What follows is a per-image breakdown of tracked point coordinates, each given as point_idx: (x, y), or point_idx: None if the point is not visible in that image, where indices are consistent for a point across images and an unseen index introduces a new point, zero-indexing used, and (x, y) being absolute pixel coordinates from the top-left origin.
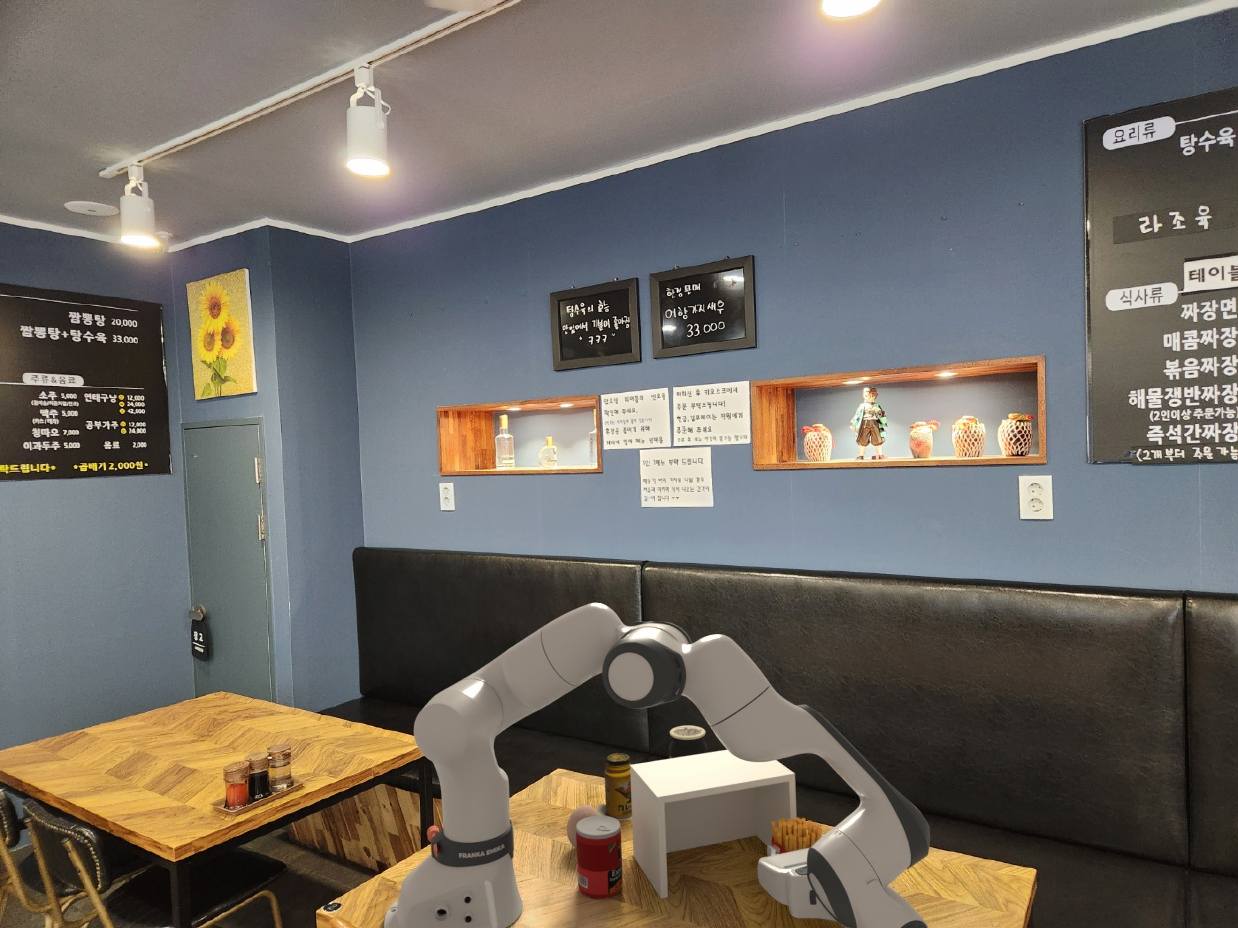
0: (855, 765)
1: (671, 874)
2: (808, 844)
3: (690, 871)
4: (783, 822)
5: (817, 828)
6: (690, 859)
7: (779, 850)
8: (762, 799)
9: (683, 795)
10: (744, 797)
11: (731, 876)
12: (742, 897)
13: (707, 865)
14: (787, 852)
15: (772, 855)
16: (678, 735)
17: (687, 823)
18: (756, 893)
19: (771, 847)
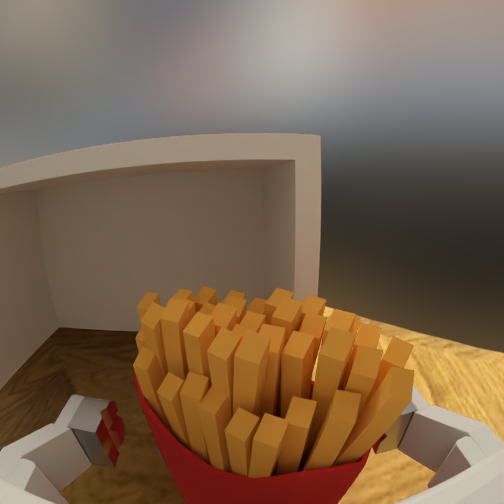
0: None
1: (51, 363)
2: (294, 452)
3: (79, 369)
4: (171, 304)
5: (384, 367)
6: (108, 349)
7: (97, 440)
8: (267, 260)
9: None
10: (239, 257)
11: (128, 407)
12: (87, 472)
13: (117, 368)
14: (29, 500)
15: (3, 454)
16: None
17: (121, 290)
18: (129, 477)
19: (71, 410)
